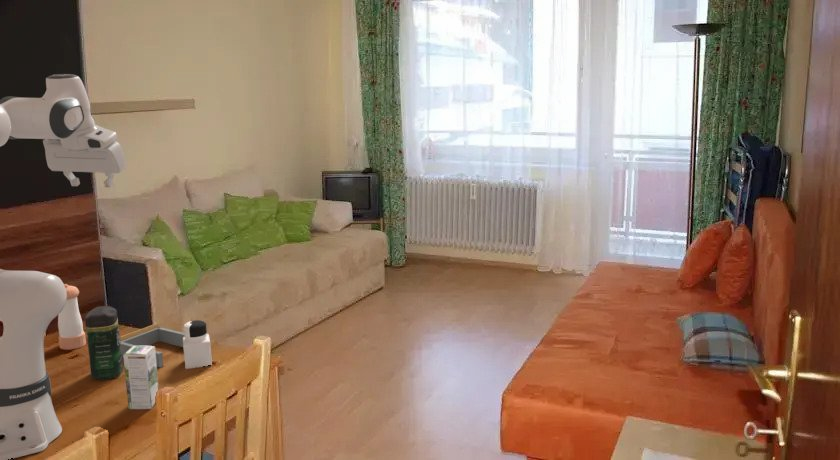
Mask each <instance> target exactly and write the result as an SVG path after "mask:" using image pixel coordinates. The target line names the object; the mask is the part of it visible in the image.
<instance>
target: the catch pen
mask: <svg viewBox="0 0 840 460" xmlns="http://www.w3.org/2000/svg"><path fill="white" fill-rule="evenodd" d="M183 337H185V336H184V332H182V331H177V330H174V329H170V328H167V327H166V328H165V327H162V326H161V327H160V325H159V322H157V323H153V324H152V325H148V326H146V327H143V328H140V329H138V330H134V331H132V332H129V333H127V334H123V335H121V336H120V345H121V354H122V358H124V357H123V355H124V354H125V353H126V352H127V351H128V350H129V349H130V348H132V347H133V346H139V345H147V346H152V345H153V344H156V343H158V342H162V343H166V344H169V345H173V346H177V347H182V348H183ZM155 352H156V364H157V368H163V367H164V357H163V352H162V351H158V350H155Z"/></svg>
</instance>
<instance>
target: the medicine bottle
mask: <svg viewBox="0 0 840 460" xmlns="http://www.w3.org/2000/svg"><path fill="white" fill-rule="evenodd" d="M207 331H208V329H207V323H206V322H205V321H204V320H197V319H195V320H190V321H187V322H186V323H184V325H183V333H184V336H185V337H183V347H182V348H183V357H184V367H185V369H186V370H189V369H196V367H197V368H203V366H205V367H209V366H208V365H211V366H212V365H213V359H212V350H211V349H212V348H211V346H212V345H211V339H210V333H208V332H207Z"/></svg>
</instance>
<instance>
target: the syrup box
mask: <svg viewBox="0 0 840 460" xmlns="http://www.w3.org/2000/svg"><path fill="white" fill-rule="evenodd" d="M155 351H156V346H154V345H153V346H152V345H148V346H147V345H139V346H133V347H132V348H130V349H129V350H128V351H127V352H126V353H125V354H124V355H123V357H122V358H123V368H124V376H125V385H126V386H125V387H126V397H127V409H129V410H152V408H154V406H155V405H156V404H155V396H156V392H157V391H158V390H159V389H160V388H159V387H160V385H159V377H158V375H159V374H158V367H157V364H156V352H155ZM159 391H160V390H159Z"/></svg>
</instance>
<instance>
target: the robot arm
mask: <svg viewBox="0 0 840 460" xmlns="http://www.w3.org/2000/svg"><path fill="white" fill-rule="evenodd" d="M45 87H46V90H45V93H44V94H43V95H42V97H20V96H12V95H11V96H4V97H2V98H1V99H0V148H1V147H2V146H5V144H6V143H7V142H8V140H21V139H27V140H28V139H33V140H34V139H35V140H36V139H37V140H42V143H43V147H44V152H45V160H46V164H47V167H48V168H49V169H50V170H51V171H52V172H63V173H62V174H63V175H64V176H65V177H66V178H67V180H68V181H69V182H70V185H71V187H79V185H80V184H81V182H80V178H79V177H76V176H75V175H74V173H75V172H76V173H101V174H104V175H105V177H107V178H106V179H105V180H104V181H103V184H104V187H105V188H110V189H111V188H112V187H114V182H113V181H114V180H113V179H114V176H115V174H120V173H121V172H122V171H124V170H125V169H126V167H127V161H126V157H125V153H124V151H123V148H122V146H121V144H120V142H118V141H117V139H118V135H117V132H116V131H113V130H110V129H107V128H105V127H102V126H101V125H100V126H99V125H98V124H96V121H95V120H94V117H92V114H91V104H90V99H89V96H88V94H87V93H88V92H87V89H86V87H85V85H84V83H83V81H82V79H81V78H80V76H78V75H76V74H74V73H73V74H72V73H60V74H59V73H57V74H52V75H49V76H47V77H46V78H45ZM73 172H74V173H73ZM64 284H65V283H64V282H63V280H62V279H61V278H60V277H59V276H57V275H55V274H52V273H47V272H42V271H38V270H8V269H2V268H0V322H2V324H3V325H2V326H3V333H2V335H1V336H0V460H8V459H9V460H12V459H11V458H13V459H16V458H17V459H18V458H20V457H23V456H28V455H32V454H36V453H40V452H42V451H44V450H46V448H47V447H48V446H49V444H51V442H53V441H54V440H55V439H57V438H58V437H59V436H60V435H61V433H62V431H63V426H62V425H61V423H60V421H59V419H58V416H57V415H56V411H55V408H54V405H53V402H52V387H51V386H52V385H51V384H52V383H51V378H50V376H49V372H47V370H46V362H45V350H44V342H45V341H44V340H45V334H46V332H47V329H48V326H49V325H50V323H51V322H52V321H53V320H54V319H55V318H56V317H57V316H58V314H59V313H60V312H61V311H62V309H63V308H64V305H65V303H66V297H67V294H66V288H65V286H64Z"/></svg>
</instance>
